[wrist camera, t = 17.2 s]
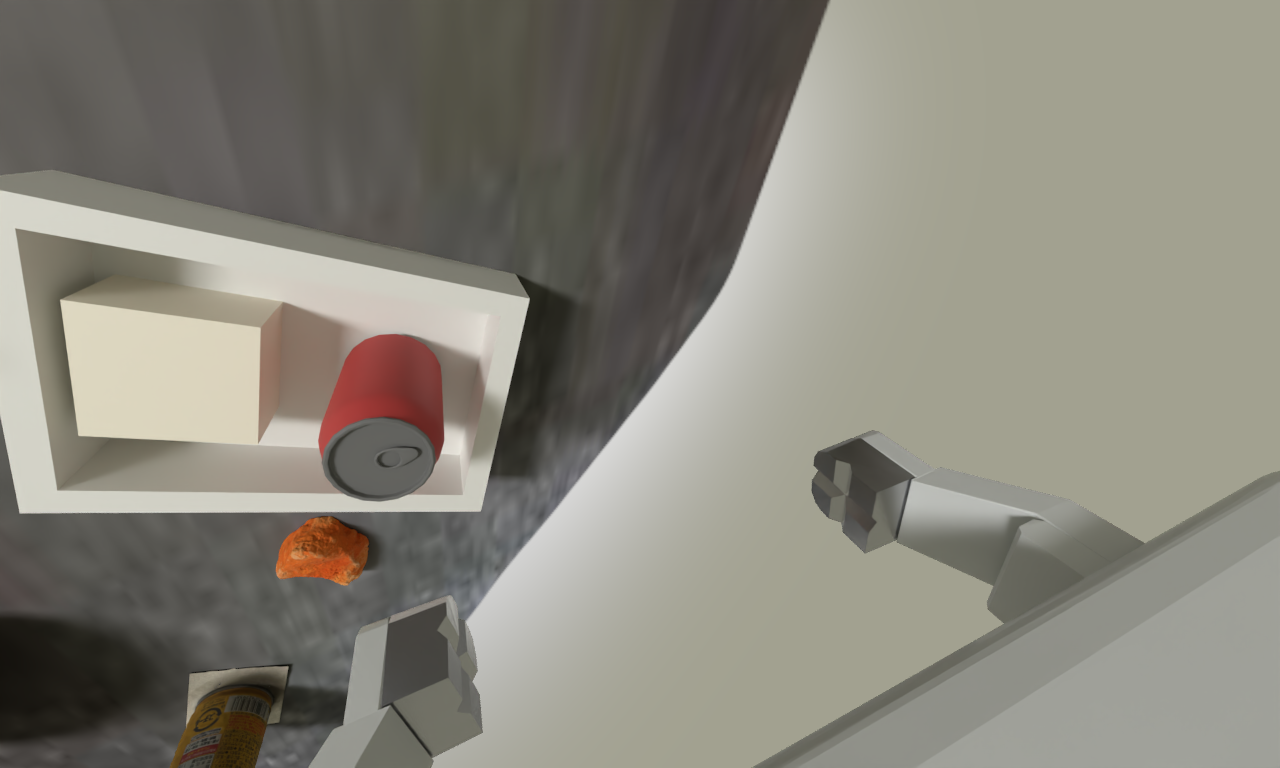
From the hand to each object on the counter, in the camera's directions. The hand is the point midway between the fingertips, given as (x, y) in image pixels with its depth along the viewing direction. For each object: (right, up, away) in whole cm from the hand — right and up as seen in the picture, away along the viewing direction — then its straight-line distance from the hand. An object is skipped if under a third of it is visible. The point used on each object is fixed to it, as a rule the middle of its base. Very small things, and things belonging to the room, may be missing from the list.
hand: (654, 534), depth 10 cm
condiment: (-39, -27, +35) cm, 59 cm away
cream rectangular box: (-29, +6, +21) cm, 36 cm away
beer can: (-19, +4, +26) cm, 33 cm away
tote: (-24, +5, +24) cm, 35 cm away
